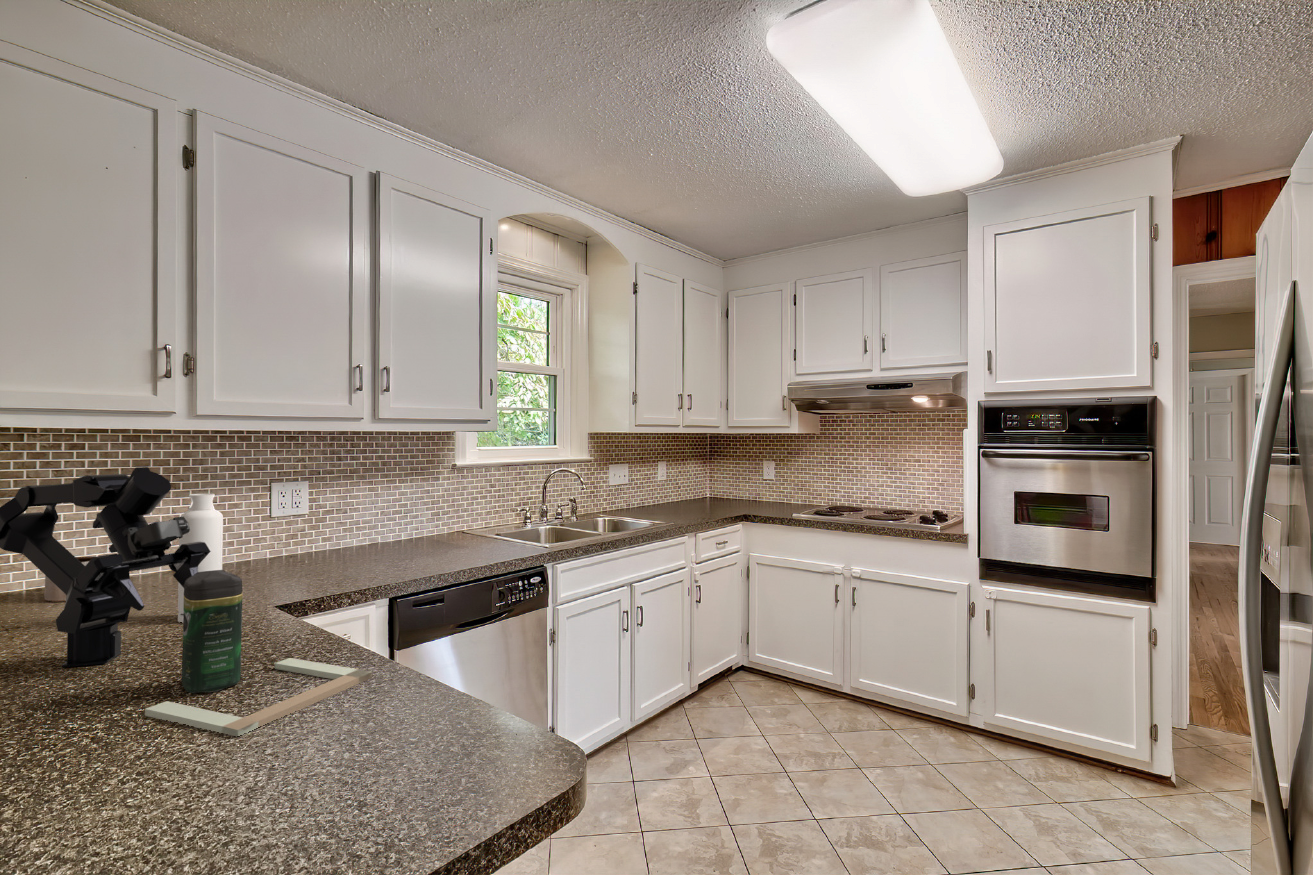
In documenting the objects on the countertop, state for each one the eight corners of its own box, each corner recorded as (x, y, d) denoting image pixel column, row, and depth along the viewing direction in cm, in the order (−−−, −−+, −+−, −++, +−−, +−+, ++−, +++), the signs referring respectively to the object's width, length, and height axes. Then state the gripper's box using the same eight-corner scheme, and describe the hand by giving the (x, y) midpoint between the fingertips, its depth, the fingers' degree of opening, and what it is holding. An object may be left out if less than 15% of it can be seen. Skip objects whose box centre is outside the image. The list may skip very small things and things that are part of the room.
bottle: (176, 617, 145) (178, 493, 146) (219, 611, 151) (221, 492, 151) (179, 625, 139) (181, 496, 140) (223, 618, 145) (226, 494, 145)
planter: (53, 595, 165) (54, 557, 165) (107, 591, 170) (108, 555, 170) (36, 604, 156) (37, 565, 156) (94, 600, 161) (95, 561, 161)
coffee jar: (245, 686, 105) (247, 573, 105) (186, 699, 100) (188, 579, 100) (234, 671, 112) (236, 564, 112) (178, 682, 107) (180, 570, 107)
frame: (144, 715, 94) (145, 708, 94) (289, 663, 116) (289, 657, 116) (237, 737, 87) (238, 729, 87) (372, 677, 110) (372, 671, 110)
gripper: (92, 507, 103) (136, 585, 100) (206, 498, 121) (246, 564, 118) (57, 550, 106) (99, 627, 103) (173, 535, 124) (212, 600, 120)
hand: (170, 602), depth 111 cm, fingers open, 9 cm apart
